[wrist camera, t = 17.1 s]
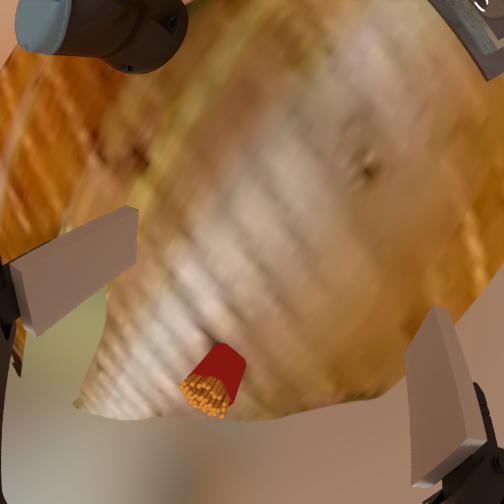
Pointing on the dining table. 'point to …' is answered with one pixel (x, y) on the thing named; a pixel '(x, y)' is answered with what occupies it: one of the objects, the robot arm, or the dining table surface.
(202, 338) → the dining table surface
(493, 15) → the wine glass
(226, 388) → the french fries
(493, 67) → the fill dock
